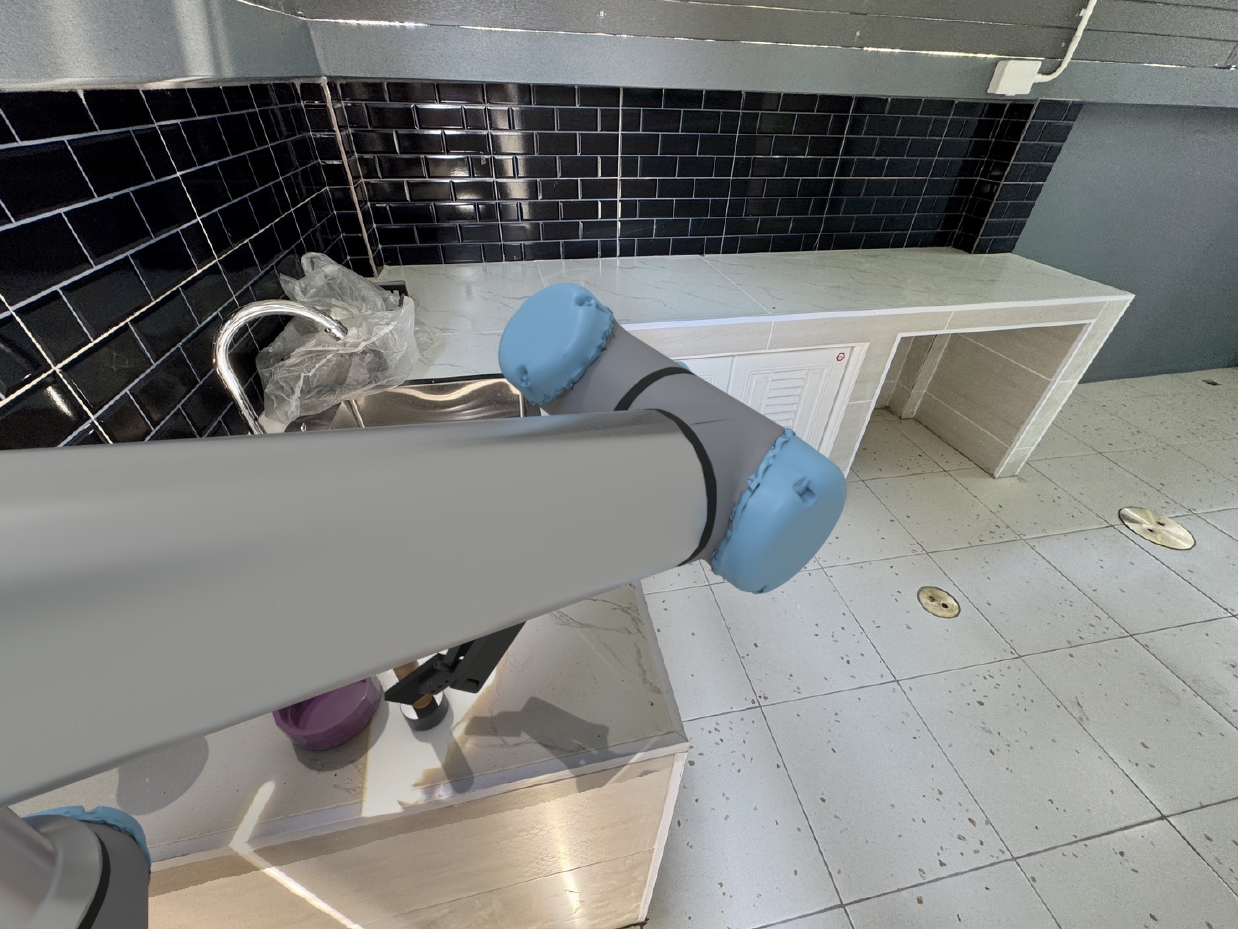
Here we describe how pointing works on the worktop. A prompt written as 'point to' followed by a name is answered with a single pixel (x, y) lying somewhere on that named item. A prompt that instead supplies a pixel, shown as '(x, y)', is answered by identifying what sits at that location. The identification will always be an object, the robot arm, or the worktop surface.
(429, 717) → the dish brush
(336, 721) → the plum bowl
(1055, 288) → the worktop surface
